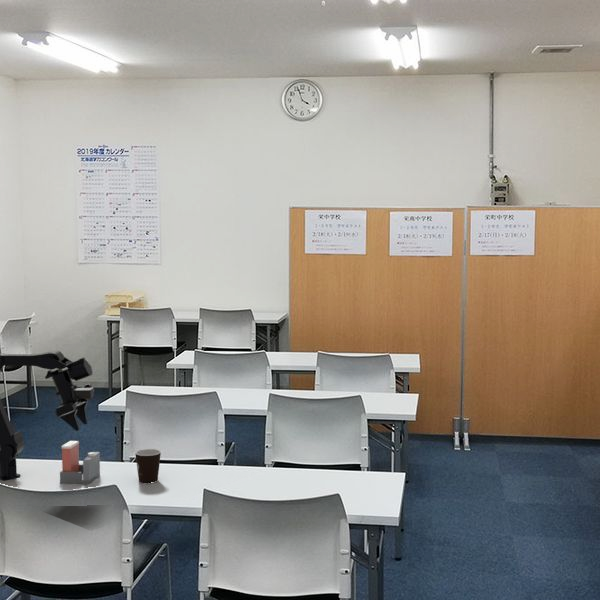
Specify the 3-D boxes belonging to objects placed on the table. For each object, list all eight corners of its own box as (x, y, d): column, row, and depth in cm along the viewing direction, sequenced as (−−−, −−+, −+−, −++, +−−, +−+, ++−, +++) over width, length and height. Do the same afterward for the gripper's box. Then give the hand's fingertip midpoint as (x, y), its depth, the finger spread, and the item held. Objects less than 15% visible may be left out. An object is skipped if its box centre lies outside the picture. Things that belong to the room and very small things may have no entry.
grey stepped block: (59, 483, 261) (59, 456, 260) (71, 474, 270) (71, 448, 270) (89, 484, 259) (89, 457, 259) (100, 475, 269) (100, 449, 269)
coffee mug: (158, 484, 260) (157, 455, 259) (132, 484, 260) (132, 455, 259) (164, 474, 271) (164, 446, 271) (140, 474, 272) (140, 446, 271)
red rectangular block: (62, 477, 262) (61, 446, 261) (70, 470, 269) (70, 440, 268) (71, 477, 261) (70, 446, 261) (79, 471, 269) (78, 441, 268)
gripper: (77, 382, 255) (95, 425, 256) (93, 372, 274) (110, 413, 275) (47, 394, 256) (65, 437, 257) (65, 384, 274) (81, 424, 275)
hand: (81, 427), depth 266 cm, fingers open, 9 cm apart
